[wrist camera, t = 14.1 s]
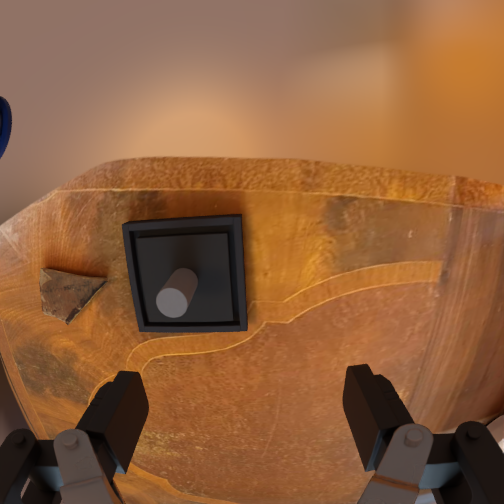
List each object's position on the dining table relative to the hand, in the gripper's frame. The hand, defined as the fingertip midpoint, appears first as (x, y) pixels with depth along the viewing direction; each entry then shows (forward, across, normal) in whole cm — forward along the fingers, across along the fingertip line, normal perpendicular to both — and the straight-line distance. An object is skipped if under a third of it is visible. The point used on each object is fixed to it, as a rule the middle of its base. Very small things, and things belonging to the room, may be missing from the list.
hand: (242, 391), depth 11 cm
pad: (+23, +7, +3) cm, 25 cm away
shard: (+24, +24, +4) cm, 34 cm away
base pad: (+24, +7, +3) cm, 25 cm away
